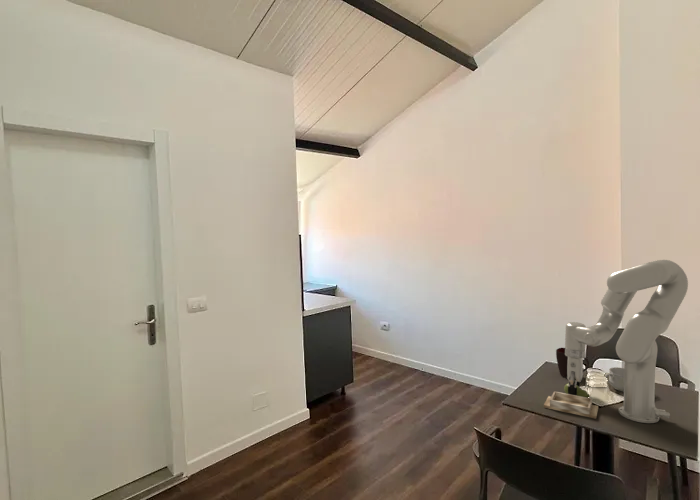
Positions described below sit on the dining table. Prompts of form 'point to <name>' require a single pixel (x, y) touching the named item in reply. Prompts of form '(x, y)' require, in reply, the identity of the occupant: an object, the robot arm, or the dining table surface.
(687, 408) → the dining table surface
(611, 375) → the teacup
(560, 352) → the mug
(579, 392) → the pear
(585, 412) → the open rectangular box
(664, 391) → the dining table surface
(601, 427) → the dining table surface
